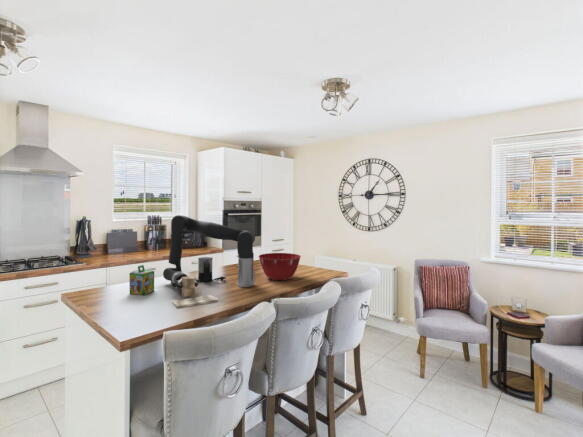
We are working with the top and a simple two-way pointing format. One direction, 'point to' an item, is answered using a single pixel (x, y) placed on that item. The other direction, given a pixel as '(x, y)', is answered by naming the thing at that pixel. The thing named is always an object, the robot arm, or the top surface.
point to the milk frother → (206, 270)
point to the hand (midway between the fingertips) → (189, 285)
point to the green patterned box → (141, 281)
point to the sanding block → (188, 287)
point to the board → (194, 301)
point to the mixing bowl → (279, 265)
